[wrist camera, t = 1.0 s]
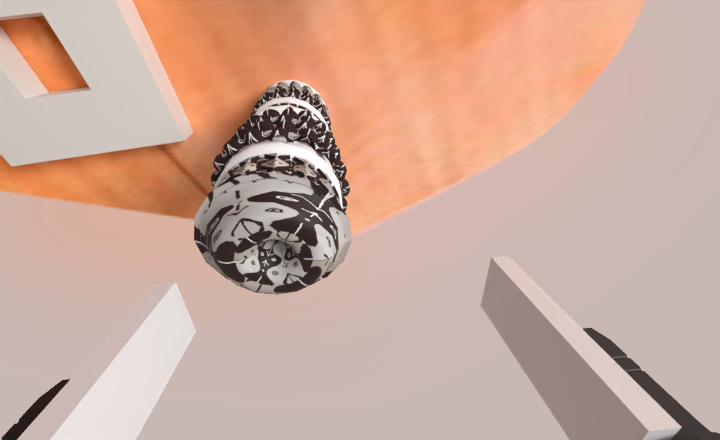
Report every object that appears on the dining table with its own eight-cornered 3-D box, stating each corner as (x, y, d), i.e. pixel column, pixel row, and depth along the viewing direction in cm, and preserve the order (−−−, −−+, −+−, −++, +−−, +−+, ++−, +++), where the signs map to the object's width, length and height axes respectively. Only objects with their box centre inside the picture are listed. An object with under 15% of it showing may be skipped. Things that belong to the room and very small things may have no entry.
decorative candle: (334, 80, 32) (380, 180, 12) (328, 155, 37) (354, 312, 17) (251, 69, 30) (140, 168, 10) (257, 150, 35) (193, 320, 15)
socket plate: (-158, -67, 21) (-218, -78, 18) (90, -90, 22) (64, -103, 20) (34, 155, 32) (11, 166, 29) (193, 131, 33) (184, 140, 30)
